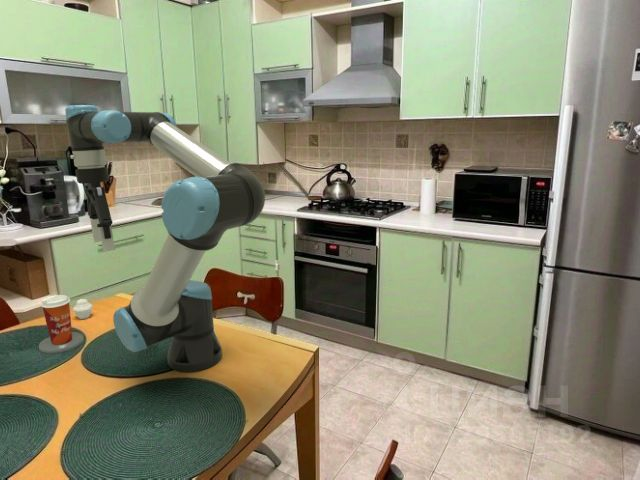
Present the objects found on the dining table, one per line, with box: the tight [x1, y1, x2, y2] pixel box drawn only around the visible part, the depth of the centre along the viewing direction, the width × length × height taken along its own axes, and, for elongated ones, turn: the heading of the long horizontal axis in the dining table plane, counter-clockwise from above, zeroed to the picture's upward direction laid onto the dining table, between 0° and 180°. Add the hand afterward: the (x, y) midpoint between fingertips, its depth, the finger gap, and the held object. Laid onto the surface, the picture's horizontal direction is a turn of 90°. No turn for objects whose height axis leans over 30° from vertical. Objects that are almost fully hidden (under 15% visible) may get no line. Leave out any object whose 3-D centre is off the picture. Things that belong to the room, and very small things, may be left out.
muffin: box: [72, 298, 94, 320], centre depth 157 cm, size 6×6×7 cm
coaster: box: [38, 331, 84, 355], centre depth 138 cm, size 12×12×1 cm
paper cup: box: [40, 294, 73, 345], centre depth 136 cm, size 8×8×14 cm
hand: (104, 245), depth 120 cm, fingers open, 13 cm apart
